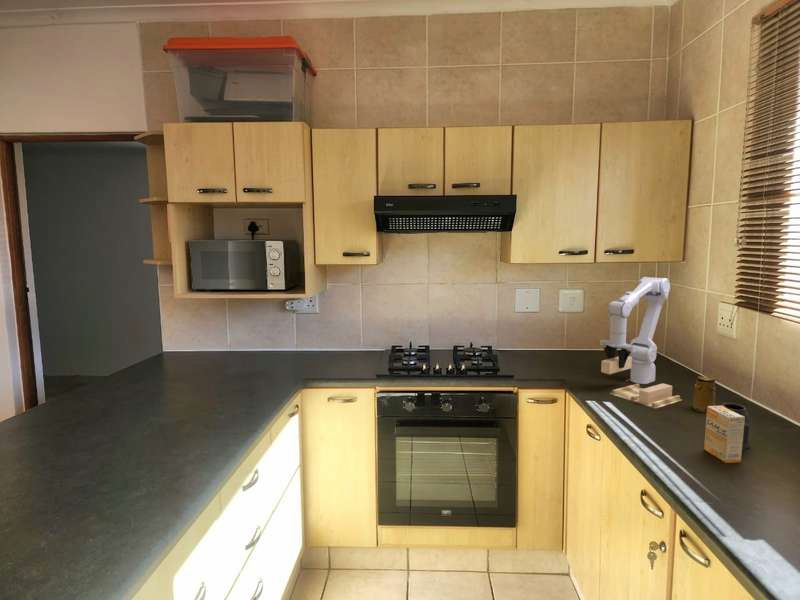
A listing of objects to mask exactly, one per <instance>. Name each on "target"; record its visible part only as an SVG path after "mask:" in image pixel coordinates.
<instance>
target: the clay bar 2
mask: <svg viewBox="0 0 800 600" xmlns="http://www.w3.org/2000/svg"><path fill="white" fill-rule="evenodd" d="M669 397H673V385H670V384H667V383H659V384H656V385H652V386H648V387H646V388H643V389H641V390H639V402H641V403H644V404H647V405H649V404H652V403H653V402H656V401H659V400H663V399H666V398H669Z"/></svg>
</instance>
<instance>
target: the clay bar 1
mask: <svg viewBox="0 0 800 600" xmlns="http://www.w3.org/2000/svg"><path fill="white" fill-rule="evenodd" d="M600 365H601V366H600V367H601V368H600V369H601V370H600V372H601V373H603V374H607V375H612V374H616V373H620V372H623V371H626V370H631V367H632V357H629V356H628V358H627V360H626V363H625V366H624V368H619V357H618V356H615V358H611V359H608V358H607V359H603V360H601V363H600Z"/></svg>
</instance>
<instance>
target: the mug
mask: <svg viewBox="0 0 800 600" xmlns="http://www.w3.org/2000/svg"><path fill="white" fill-rule="evenodd" d="M721 406H724V407H725V408H727V409H730V410H732V411H734V412H736V413H738V414H740V415H742V416H744V417H745V421H744V432H743V443H742V451H746V450H749V449H751V443H750V437H749V436H750V414H749V412H748V411H747V407H745V406H744V405H742V404H738V403H734V402H723V403H722V405H721Z"/></svg>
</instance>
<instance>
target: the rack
mask: <svg viewBox="0 0 800 600" xmlns="http://www.w3.org/2000/svg"><path fill="white" fill-rule="evenodd" d="M641 389H644V388H643V387H640V384H639V383H634V384H630V385H627V386H624V387H620V388H616V389H615V388H614V389H612V390H611V392H610V393H609V395H613V396H615V397H618V398H621V399H625V400H628V401H631V402H634V403H637V404H641V405H643V406H646V407H650V408H653V409H659V408H661V407H662V408H663V407H665V406H669V405H671V404H675V403H678V402H681V401H682V399H681V396H680V395H678V394H677V395H672V397H669V398H666V399H663V400H659V401H656V402H653V403H652V404H649V405H647V404H644V403H641V402H639V390H641Z"/></svg>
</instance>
